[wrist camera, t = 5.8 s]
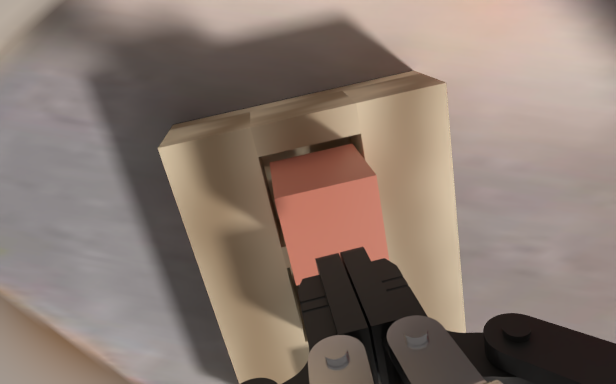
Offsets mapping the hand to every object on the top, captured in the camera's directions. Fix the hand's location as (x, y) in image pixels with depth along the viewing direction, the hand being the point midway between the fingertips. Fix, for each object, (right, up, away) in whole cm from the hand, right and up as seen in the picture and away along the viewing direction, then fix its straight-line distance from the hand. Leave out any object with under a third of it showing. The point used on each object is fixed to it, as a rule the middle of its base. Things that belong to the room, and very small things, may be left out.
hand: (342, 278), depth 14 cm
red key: (-1, +3, +6) cm, 7 cm away
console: (0, -1, +12) cm, 12 cm away
